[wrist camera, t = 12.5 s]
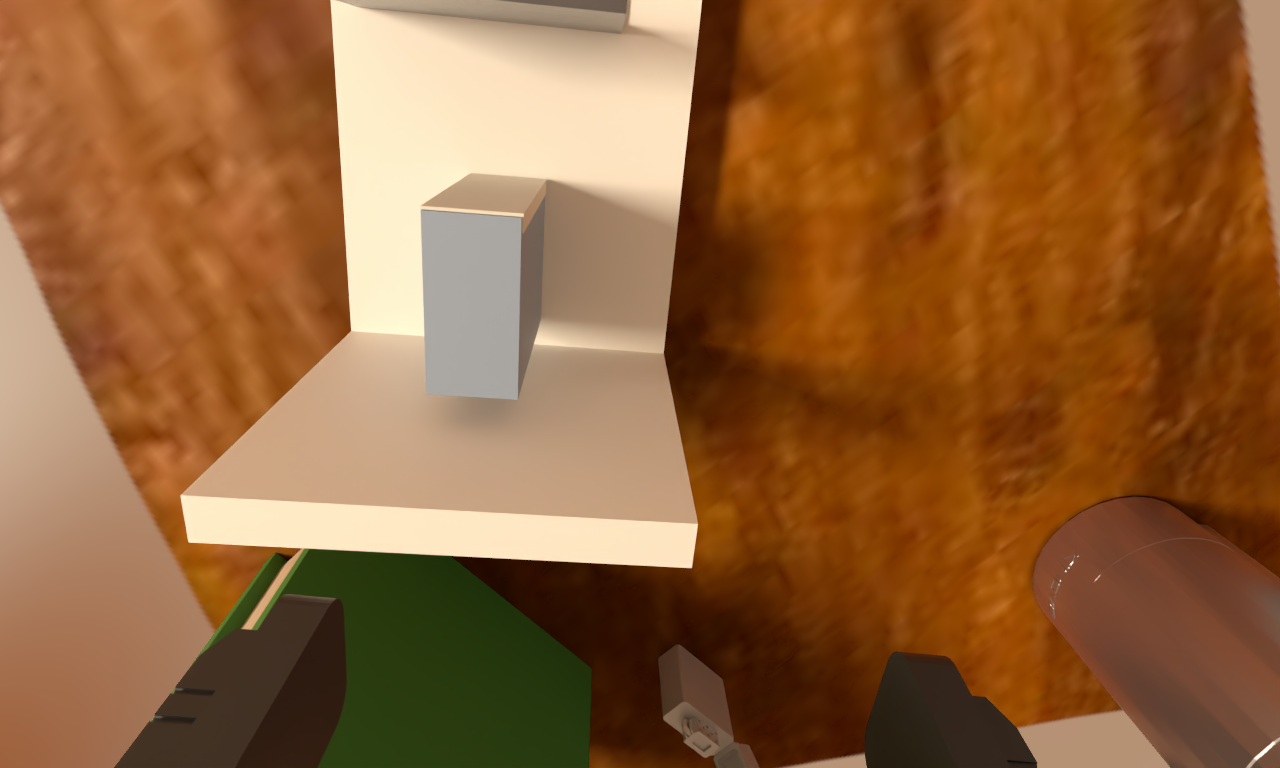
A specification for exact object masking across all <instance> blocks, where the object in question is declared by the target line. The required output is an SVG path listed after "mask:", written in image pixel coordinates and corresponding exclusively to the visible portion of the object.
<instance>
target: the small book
mask: <svg viewBox="0 0 1280 768" xmlns="http://www.w3.org/2000/svg"><path fill="white" fill-rule="evenodd" d="M545 195H546V179H538V178H526V177H513V176H501V175H488V174H476V173H470V174H468V175H467V176H465V177H464V178H462V179H461V180H459V181H458V182H456V183H454V184H453V185H451V186H450V187H448V188H447V189H445V190H444V191H442V192H441V193H439V194H438V195H436V196H434V197H433V198H431V199H430V200H428V201H427V202H425V203H424V204H422V205H421V206H420V212H421V242H422V275H423V307H424V339H425V372H426V394H429V395H446V396H463V397H480V398H497V399H513V400H518V397H519V394H520V390H521V387H522V383H523V380H524V376H525V373H526V369H527V366H528V363H529V359H530V356H531V352H532V349H533V345H534V342H535V338H536V335H537V331H538V328H539V324H540V321H541V307H542V276H543V245H544V214H545Z"/></svg>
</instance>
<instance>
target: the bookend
mask: <svg viewBox="0 0 1280 768" xmlns="http://www.w3.org/2000/svg"><path fill="white" fill-rule="evenodd" d="M336 1H339V2H343V3H346V4H349V5H353V6H356V7H362V8H372V9H381V10H391V11H401V12H411V13H420V14H430V15H440V16H450V17H459V18H469V19H479V20H489V21H498V22H508V23H518V24H528V25H537V26H547V27H557V28H567V29H576V30H586V31H596V32H606V33H615V34H621V33H622V29H623V25H624V21H625V17H626V10H627V0H336Z"/></svg>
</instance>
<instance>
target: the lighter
mask: <svg viewBox="0 0 1280 768" xmlns="http://www.w3.org/2000/svg"><path fill="white" fill-rule="evenodd" d="M658 663H659V674H660V686H661V698H662V710H663V720H664V721H666V722H667V723H668V724H669V725H671V726H672V727H673V728H675V729H676V730H677V731H679V732H680V733H681V734H683V741H684V743H685V744H687V745H688V746H689V747H691V748H692V749H693V750H695V751H696V752H697V753H699V754H700V755H701V756H703V757H704V758H707V757H708V756H710V755H714V763H715V765H716V767H717V768H759V765H758V763H757V761H756V759H755V757H754V754H753V752H752V750H751V748H750V746H749V745H747V744H743V743H737V742H734V736H733V731H732V726H731V720H730V715H729V710H728V705H727V699H726V694H725V689H724V684H723V679H722V678H721V677H719V676H718V675H717V674H716V673H714V672H713V671H712V670H711V669H709V668H708V667H707V666H706V665H704V664H703V663H702V662H701V661H700V660H698V659H697V658H696V657H695V656H693V655H692V654H691V653H690V652H688V651H687V650H686V649H685V648H684V647H682V646H681V645H675V646H673V647H672V648H671V649H669V650H668V651H667V652H666V653H664V654H663V655H662V656H660V657H659V658H658Z"/></svg>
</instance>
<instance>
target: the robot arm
mask: <svg viewBox="0 0 1280 768" xmlns="http://www.w3.org/2000/svg"><path fill="white" fill-rule="evenodd" d="M1033 592H1034V595H1035V598H1036V601H1037V603H1038V605H1039V606H1040V608H1041V609H1042V611H1043V612H1044V614H1045V615H1046V616H1047V617H1048V619H1049V620H1050V621H1051V622H1052V623H1053V625H1054V626H1055V627H1056V628H1057V629H1058V631H1059V632H1060V633H1061V634H1062V636H1063V637H1064V638H1065V639H1066V640H1067V642H1068V643H1069V644H1070V645H1071V647H1072V648H1073V649H1074V650H1075V651H1076V653H1077V654H1078V655H1079V656H1080V658H1081V659H1082V660H1083V662H1084V663H1085V664H1086V665H1087V667H1088V668H1089V669H1090V670H1091V671H1092V673H1093V674H1094V675H1095V676H1096V678H1097V679H1098V680H1099V681H1100V682H1101V684H1102V685H1103V686H1104V687H1105V688H1106V690H1107V691H1108V692H1109V693H1110V695H1111V696H1112V697H1113V698H1114V699H1115V701H1116V702H1117V703H1118V704H1119V706H1120V707H1121V708H1122V709H1123V710H1124V712H1125V713H1126V714H1127V715H1128V716H1129V718H1130V719H1131V720H1132V721H1133V722H1134V724H1135V725H1136V726H1137V727H1138V729H1139V730H1140V731H1141V732H1142V734H1143V735H1144V736H1145V737H1146V738H1147V740H1148V741H1149V742H1150V743H1151V744H1152V746H1153V747H1154V748H1155V749H1156V750H1157V752H1158V753H1159V754H1160V755H1161V757H1162V758H1163V759H1164V760H1165V761H1166V763H1167V764H1168V765H1169V766H1170V768H1280V578H1279V577H1278V576H1276V575H1275V574H1274V573H1272V572H1271V571H1269V570H1268V569H1267V568H1265V567H1264V566H1263V565H1261V564H1260V563H1259V562H1257V561H1256V560H1255V559H1253V558H1252V557H1251V556H1249V555H1248V554H1246V553H1245V552H1244V551H1242V550H1241V549H1240V548H1238V547H1237V546H1236V545H1234V544H1233V543H1232V542H1230V541H1229V540H1227V539H1226V538H1225V537H1223V536H1222V535H1221V534H1219V533H1218V532H1217V531H1215V530H1214V529H1213V528H1211V527H1210V526H1209V525H1205V524H1197V523H1196V522H1195V521H1193V520H1192V519H1191V518H1189V517H1188V516H1187V515H1185V514H1184V513H1183V512H1181V511H1180V510H1179V509H1177V508H1175V507H1174V506H1172V505H1170V504H1168V503H1167V502H1164V501H1160V500H1157V499H1154V498H1147V497H1127V498H1118V499H1114V500H1110V501H1107V502H1103V503H1100V504H1097V505H1095V506H1093V507H1091V508H1089V509H1087V510H1085V511H1083V512H1081V513H1079V514H1078V515H1076V516H1075V517H1073V518H1072V519H1071V520H1069V521H1068V522H1066V523H1065V524H1064V525H1063V526H1062V527H1061V528H1060V529H1059V530H1058V531H1057V532H1056V533H1054V534H1053V536H1052V537H1051V538H1050V540H1049V541H1048V542H1047V544H1046V545H1045V546H1044V548H1043V549H1042V551H1041V553H1040V556H1039V558H1038V560H1037V562H1036V565H1035V569H1034V574H1033ZM346 688H347V669H346V647H345V626H344V608H343V604H342V601H341V600H340V599H336V598H325V597H315V596H304V595H293V594H285V595H283V596H282V597H281V598H280V599H279V600H278V601H277V602H276V604H275V605H274V607H273V608H272V610H271V611H270V612H269V614H268V615H267V617H266V618H265V620H264V621H263V623H262V624H261V625H260V627H259V628H258V630H248V629H237V628H236V629H235V630H234V631H232V632H231V633H229V634H228V635H227V636H225V637H224V638H223V639H221V640H220V641H218V642H217V643H216V644H214V645H213V646H211V647H210V648H209V649H207V650H206V651H204V652H203V653H202V654H200V655H199V657H198V658H197V659H196V661H195V662H194V663H193V665H192V666H191V667H190V669H189V670H188V671H187V673H186V674H185V675H184V676H183V678H182V679H181V680H180V682H179V683H178V684H177V686H176V688H175V692H174V694H170V695H169V696H168V698H167V699H166V700H165V701H164V703H163V704H162V705H161V707H160V708H159V709H158V711H157V712H156V713H155V717H154V720H153V721H152V722H149V723H148V724H147V725H146V726H145V728H144V729H143V730H142V732H141V733H140V734H139V736H138V737H137V738H136V740H135V741H134V742H133V744H132V745H131V746H130V748H129V749H128V751H126V753H125V754H124V755H123V757H122V758H121V759H120V761H119V762H118V763H117V765H116V766H115V767H114V768H318V766H319V764H320V762H321V760H322V757H323V755H324V753H325V751H326V749H327V747H328V745H329V742H330V740H331V738H332V736H333V734H334V732H335V729H336V727H337V725H338V722H339V719H340V716H341V713H342V709H343V705H344V701H345V695H346ZM865 758H866V765H867V768H1037V762H1036V760H1035V758H1034V757H1033V755H1032V753H1031V751H1030V750H1029V748H1028V746H1027V745H1026V743H1025V741H1024V739H1023V738H1022V736H1021V734H1020V733H1019V731H1018V729H1017V728H1016V727H1015V726H1014V725H1013V724H1012V723H1011V722H1010V721H1009V720H1008V719H1007V718H1006V717H1005V716H1004V715H1003V714H1002V713H1001V712H1000V711H999V710H998V709H997V708H996V707H995V706H994V705H993V704H992V703H991V702H990V701H989V700H988V699H987V698H986V697H977V696H972V695H971V694H970V692H969V690H968V688H967V686H966V684H965V683H964V681H963V679H962V677H961V675H960V673H959V672H958V670H957V668H956V666H955V665H954V663H953V662H952V661H951V659H949V658H948V657H946V656H938V655H927V654H916V653H905V652H894V653H893V654H892V655H891V656H890V658H889V660H888V662H887V665H886V668H885V671H884V674H883V677H882V681H881V684H880V687H879V690H878V693H877V696H876V699H875V702H874V705H873V709H872V712H871V715H870V718H869V721H868V724H867V728H866V734H865Z"/></svg>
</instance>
